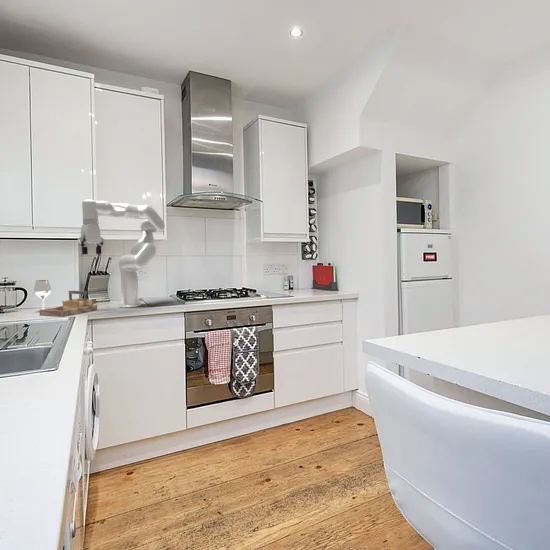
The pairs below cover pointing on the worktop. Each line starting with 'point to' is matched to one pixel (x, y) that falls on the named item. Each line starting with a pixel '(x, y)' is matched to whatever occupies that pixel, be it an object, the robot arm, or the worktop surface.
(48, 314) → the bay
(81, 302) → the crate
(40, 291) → the wineglass
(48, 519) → the worktop surface
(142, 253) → the robot arm
